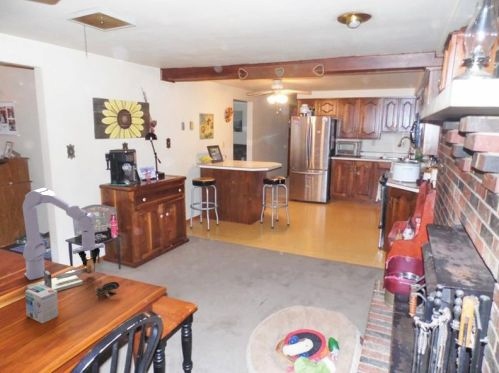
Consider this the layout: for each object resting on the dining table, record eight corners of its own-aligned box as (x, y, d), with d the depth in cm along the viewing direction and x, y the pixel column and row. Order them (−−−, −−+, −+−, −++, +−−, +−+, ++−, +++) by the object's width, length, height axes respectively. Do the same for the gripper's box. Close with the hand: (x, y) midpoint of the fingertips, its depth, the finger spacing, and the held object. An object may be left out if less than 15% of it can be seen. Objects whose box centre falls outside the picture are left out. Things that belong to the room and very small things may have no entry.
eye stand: (27, 288, 155) (25, 272, 154) (73, 276, 170) (72, 261, 168) (34, 297, 147) (33, 281, 146) (82, 284, 162) (82, 269, 160)
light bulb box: (26, 316, 133) (24, 290, 131) (43, 308, 139) (41, 283, 137) (42, 324, 128) (40, 297, 126) (59, 315, 134) (58, 290, 132)
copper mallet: (55, 279, 160) (54, 264, 159) (91, 269, 172) (91, 256, 171) (58, 281, 157) (57, 267, 156) (95, 272, 169) (94, 258, 168)
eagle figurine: (106, 300, 145) (122, 289, 152) (97, 286, 145) (114, 275, 152) (98, 304, 149) (114, 293, 157) (89, 290, 149) (107, 280, 157)
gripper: (75, 243, 159) (77, 270, 161) (106, 237, 169) (107, 262, 171) (70, 239, 163) (71, 266, 165) (100, 233, 174) (101, 258, 176)
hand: (89, 264), depth 169 cm, fingers closed on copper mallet, 4 cm apart
